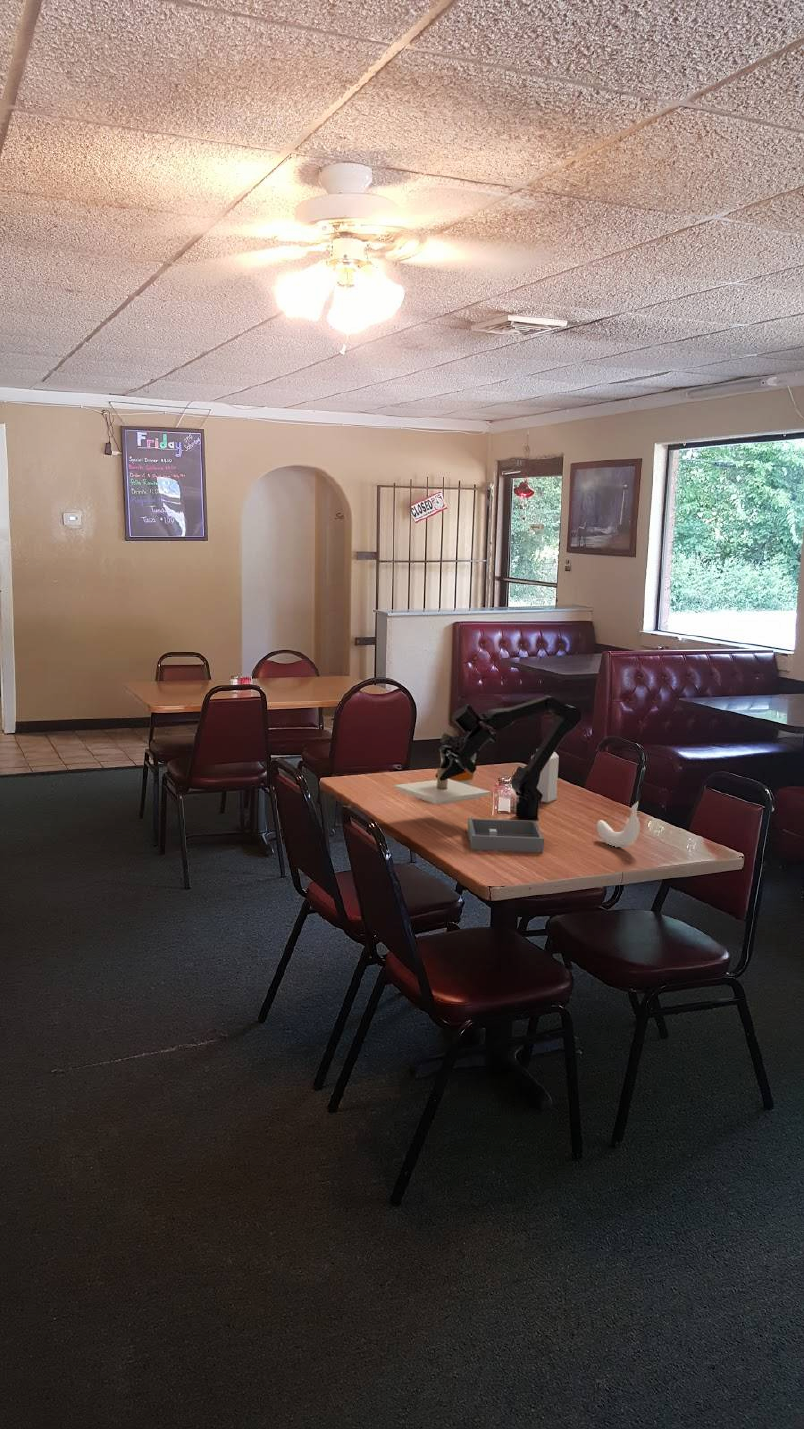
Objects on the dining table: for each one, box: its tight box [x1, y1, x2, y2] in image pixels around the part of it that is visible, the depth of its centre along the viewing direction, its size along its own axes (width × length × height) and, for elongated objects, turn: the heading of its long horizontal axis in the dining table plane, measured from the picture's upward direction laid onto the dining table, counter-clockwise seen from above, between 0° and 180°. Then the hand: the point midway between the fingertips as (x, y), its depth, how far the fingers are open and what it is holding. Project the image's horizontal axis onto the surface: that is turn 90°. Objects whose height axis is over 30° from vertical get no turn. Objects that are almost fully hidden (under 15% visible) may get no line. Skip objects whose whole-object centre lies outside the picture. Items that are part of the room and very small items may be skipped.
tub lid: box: [393, 767, 492, 805], centre depth 327 cm, size 21×21×8 cm
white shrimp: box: [596, 801, 641, 849], centre depth 307 cm, size 5×19×15 cm, turn 28°
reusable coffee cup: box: [439, 746, 477, 786], centre depth 369 cm, size 12×13×15 cm
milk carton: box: [530, 748, 560, 804], centre depth 362 cm, size 7×7×19 cm
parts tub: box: [467, 817, 545, 853], centre depth 308 cm, size 20×20×4 cm
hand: (438, 778), depth 326 cm, fingers closed on tub lid, 3 cm apart
